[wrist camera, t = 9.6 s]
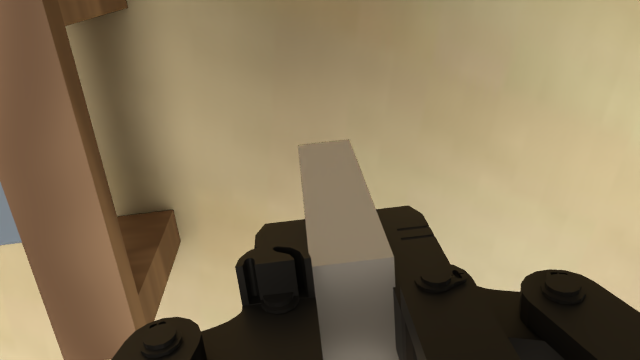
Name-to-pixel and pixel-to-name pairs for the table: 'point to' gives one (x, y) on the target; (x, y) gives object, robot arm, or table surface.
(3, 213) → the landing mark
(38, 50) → the brown bridge block
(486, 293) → the robot arm
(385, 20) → the table surface
